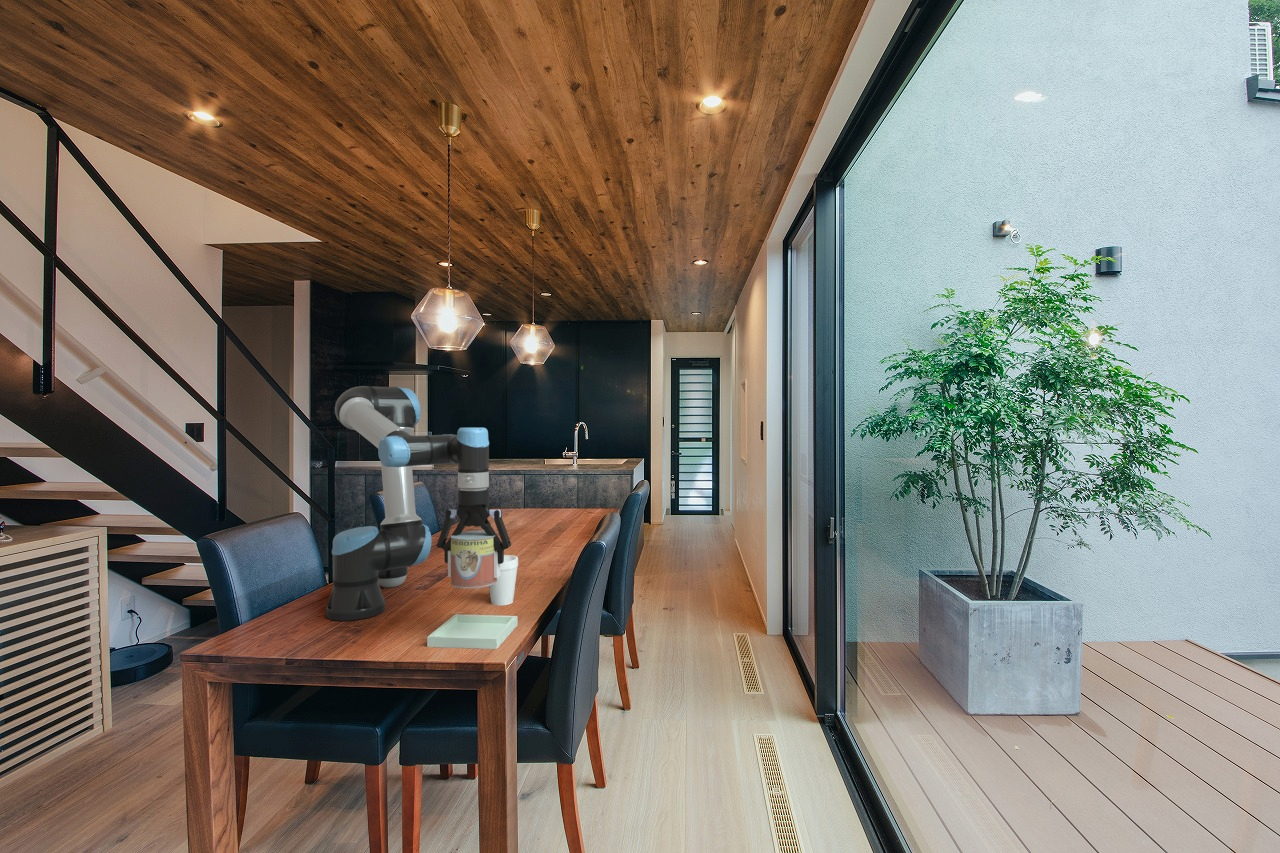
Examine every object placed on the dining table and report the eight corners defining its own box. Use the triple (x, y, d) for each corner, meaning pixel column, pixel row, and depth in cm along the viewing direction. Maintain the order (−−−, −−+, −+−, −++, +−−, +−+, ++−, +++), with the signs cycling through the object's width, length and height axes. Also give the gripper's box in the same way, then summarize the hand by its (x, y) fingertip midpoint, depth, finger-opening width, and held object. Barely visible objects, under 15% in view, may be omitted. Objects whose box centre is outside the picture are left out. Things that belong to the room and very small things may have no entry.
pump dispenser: (401, 589, 197) (400, 542, 197) (369, 589, 197) (368, 542, 197) (413, 581, 207) (413, 536, 207) (382, 581, 208) (382, 536, 207)
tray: (427, 646, 148) (427, 636, 148) (455, 623, 165) (455, 614, 165) (496, 649, 146) (496, 639, 146) (517, 625, 163) (517, 616, 163)
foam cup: (499, 609, 177) (499, 563, 177) (479, 603, 182) (479, 559, 182) (525, 601, 184) (524, 557, 184) (504, 595, 190) (504, 553, 190)
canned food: (444, 588, 150) (443, 538, 150) (459, 576, 161) (459, 530, 161) (490, 588, 149) (489, 539, 149) (502, 576, 160) (502, 530, 160)
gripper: (421, 490, 152) (422, 579, 152) (514, 490, 150) (515, 580, 150) (434, 487, 160) (435, 571, 160) (523, 487, 157) (524, 573, 158)
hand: (474, 576), depth 155 cm, fingers closed on canned food, 11 cm apart
